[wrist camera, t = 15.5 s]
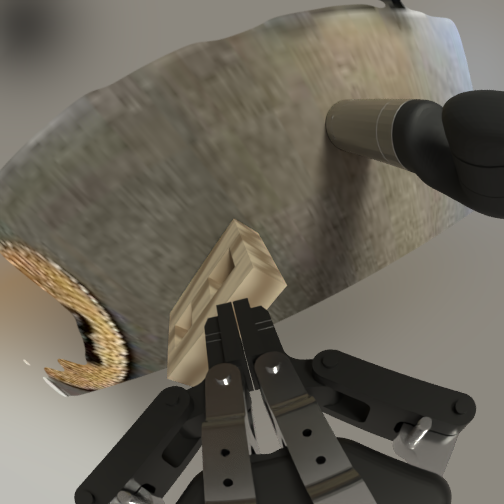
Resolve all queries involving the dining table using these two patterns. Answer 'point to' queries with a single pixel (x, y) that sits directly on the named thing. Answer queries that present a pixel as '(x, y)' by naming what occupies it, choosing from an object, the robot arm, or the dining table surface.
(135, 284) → the dining table surface
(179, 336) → the key panel
